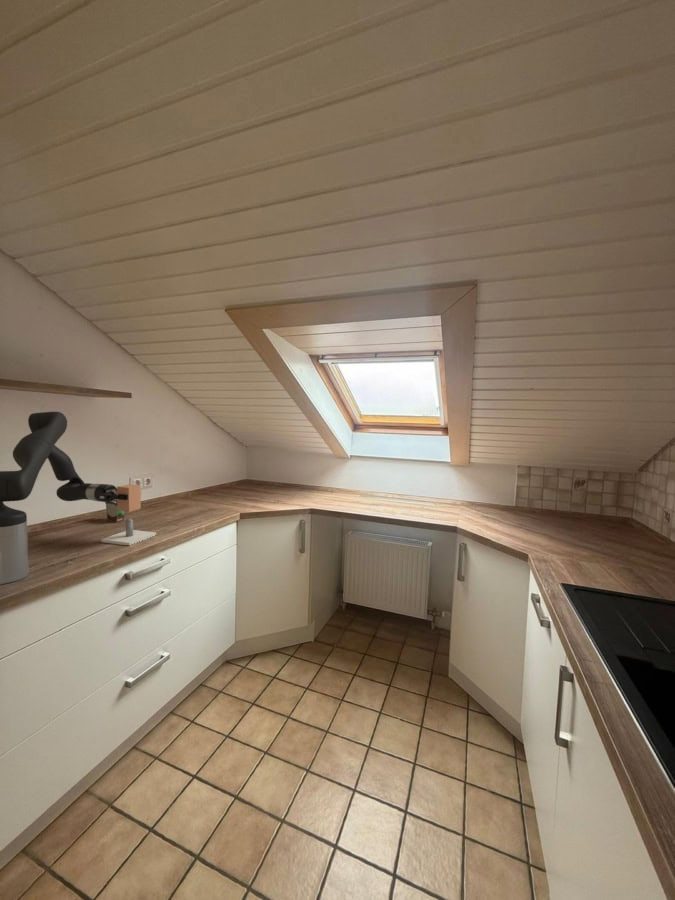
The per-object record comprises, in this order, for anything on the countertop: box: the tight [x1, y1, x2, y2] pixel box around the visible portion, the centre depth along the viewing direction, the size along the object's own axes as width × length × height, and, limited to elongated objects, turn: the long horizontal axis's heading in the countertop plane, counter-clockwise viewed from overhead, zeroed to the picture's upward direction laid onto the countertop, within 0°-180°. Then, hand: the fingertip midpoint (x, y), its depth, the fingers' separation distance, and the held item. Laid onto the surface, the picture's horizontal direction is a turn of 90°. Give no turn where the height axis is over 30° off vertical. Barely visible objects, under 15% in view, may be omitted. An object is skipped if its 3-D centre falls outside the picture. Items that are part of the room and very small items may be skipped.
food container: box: [104, 500, 125, 523], centre depth 171 cm, size 12×6×10 cm, turn 59°
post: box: [100, 518, 157, 546], centre depth 144 cm, size 14×14×8 cm
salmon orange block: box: [116, 484, 142, 513], centre depth 143 cm, size 6×6×10 cm
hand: (133, 495), depth 142 cm, fingers closed on salmon orange block, 6 cm apart
